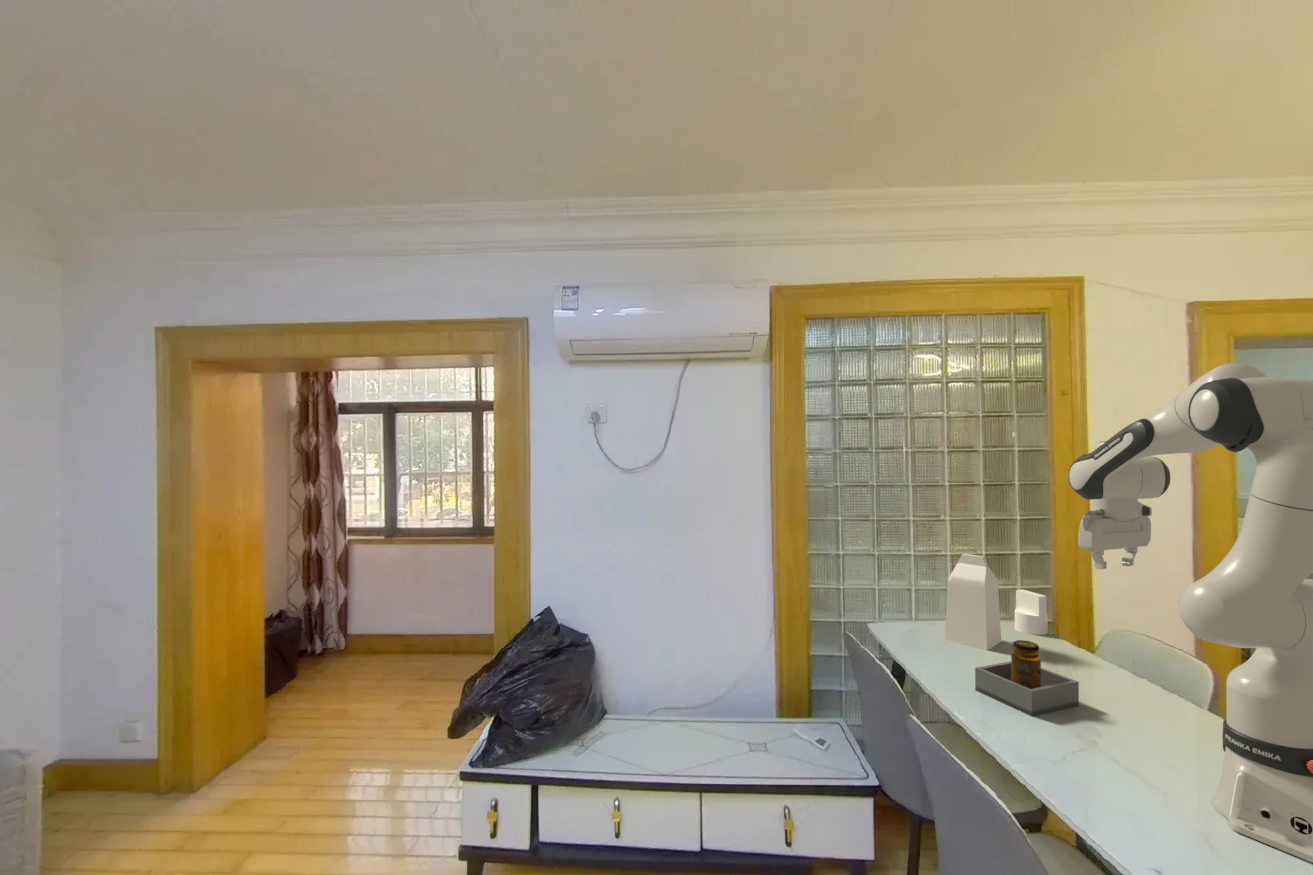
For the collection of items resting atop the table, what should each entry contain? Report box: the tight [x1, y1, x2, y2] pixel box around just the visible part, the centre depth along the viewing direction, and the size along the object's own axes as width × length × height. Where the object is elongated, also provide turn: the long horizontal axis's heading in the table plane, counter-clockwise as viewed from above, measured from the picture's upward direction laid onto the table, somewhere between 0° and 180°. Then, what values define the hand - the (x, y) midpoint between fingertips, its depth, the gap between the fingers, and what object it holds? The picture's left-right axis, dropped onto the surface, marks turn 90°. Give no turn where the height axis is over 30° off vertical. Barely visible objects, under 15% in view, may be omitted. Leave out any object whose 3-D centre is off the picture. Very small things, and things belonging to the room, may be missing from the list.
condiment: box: [1010, 639, 1042, 689], centre depth 146 cm, size 7×8×12 cm
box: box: [974, 661, 1080, 717], centre depth 147 cm, size 15×15×6 cm
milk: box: [944, 553, 1002, 651], centre depth 187 cm, size 12×12×26 cm
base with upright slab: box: [1014, 589, 1049, 636], centre depth 197 cm, size 9×9×12 cm
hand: (1114, 567), depth 146 cm, fingers open, 8 cm apart
